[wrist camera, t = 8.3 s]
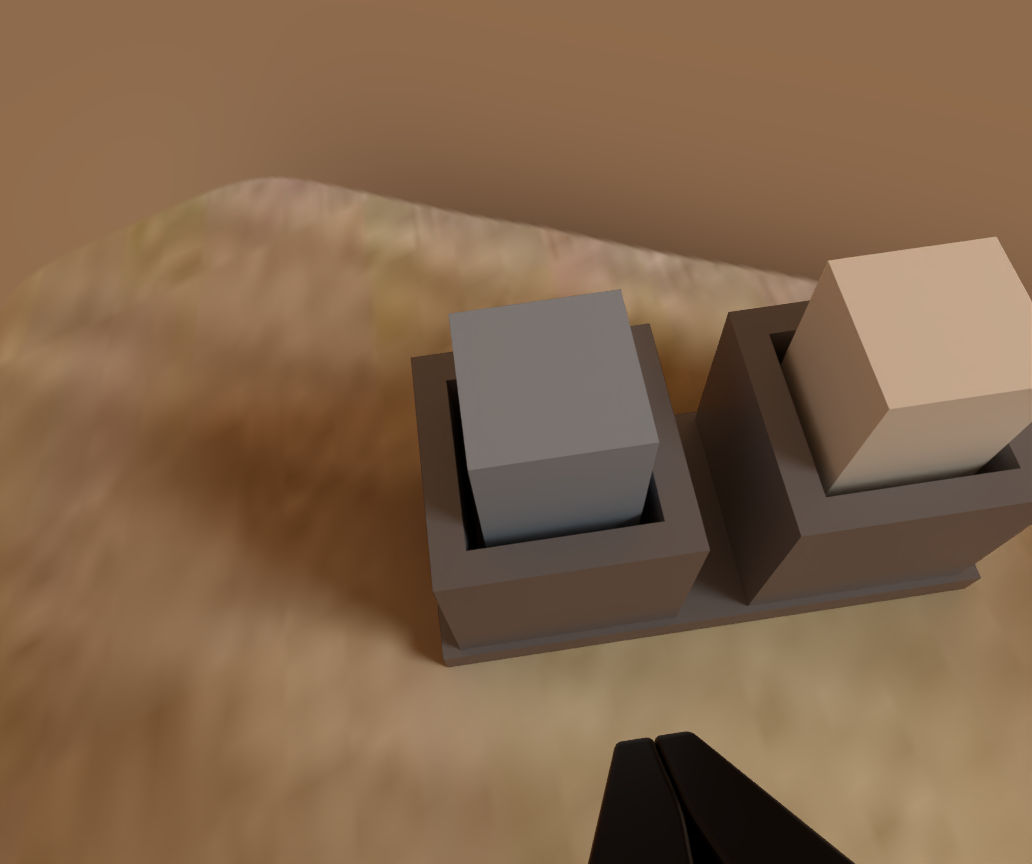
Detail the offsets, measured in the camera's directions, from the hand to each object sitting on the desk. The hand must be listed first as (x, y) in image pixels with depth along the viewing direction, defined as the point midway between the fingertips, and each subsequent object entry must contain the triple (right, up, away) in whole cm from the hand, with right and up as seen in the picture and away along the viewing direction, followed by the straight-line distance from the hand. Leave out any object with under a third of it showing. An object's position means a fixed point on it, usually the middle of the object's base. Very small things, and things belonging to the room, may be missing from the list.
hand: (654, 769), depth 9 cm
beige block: (+7, +3, +13) cm, 16 cm away
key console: (+4, +1, +16) cm, 16 cm away
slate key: (-1, +2, +13) cm, 13 cm away
